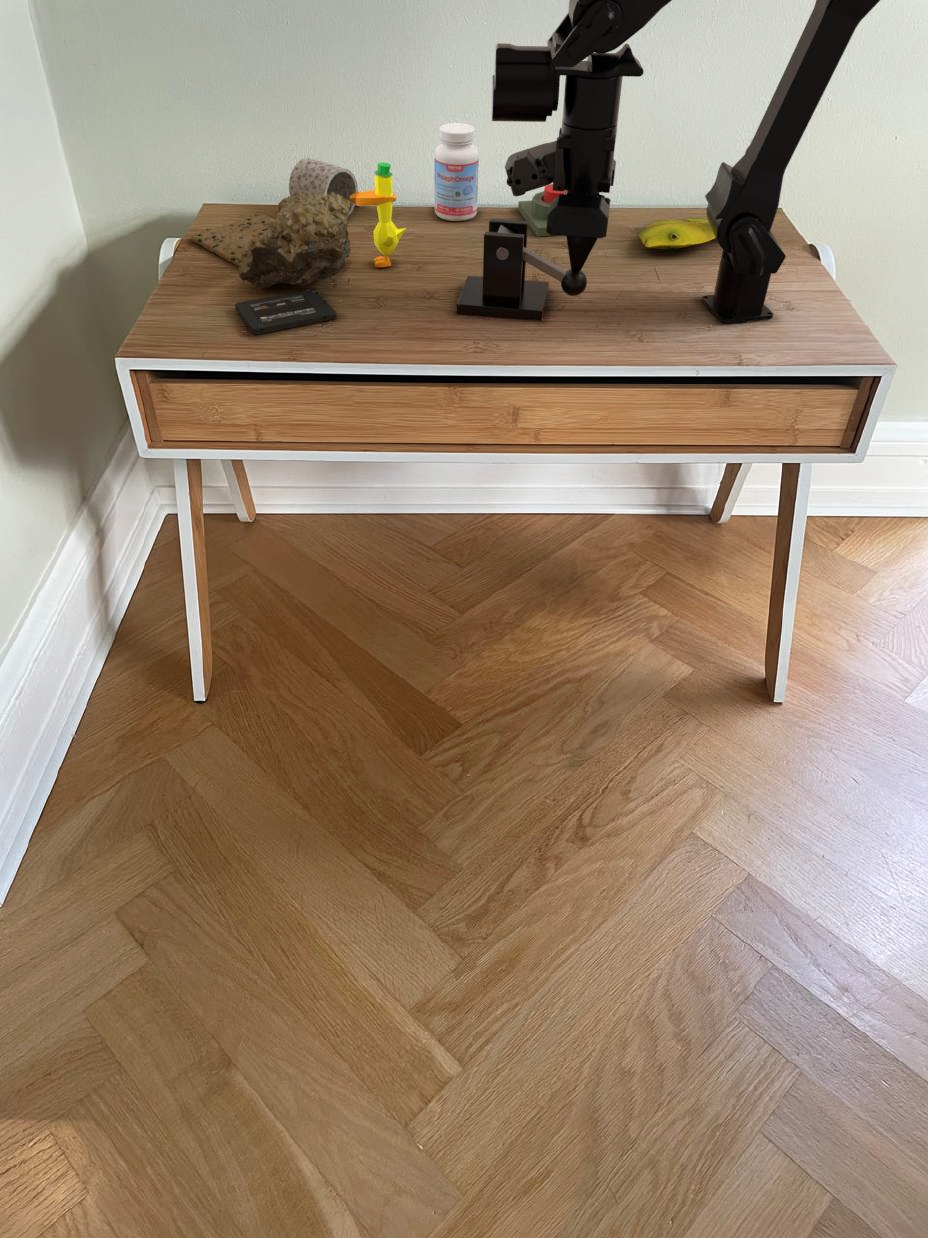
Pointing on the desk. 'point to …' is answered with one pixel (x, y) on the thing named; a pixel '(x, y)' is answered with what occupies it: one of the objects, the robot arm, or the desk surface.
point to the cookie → (233, 236)
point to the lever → (554, 270)
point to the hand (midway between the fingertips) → (576, 269)
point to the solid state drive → (284, 311)
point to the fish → (676, 233)
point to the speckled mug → (322, 180)
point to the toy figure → (381, 213)
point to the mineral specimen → (299, 242)
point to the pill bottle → (456, 173)
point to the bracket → (504, 278)
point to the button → (551, 193)
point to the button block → (536, 213)
